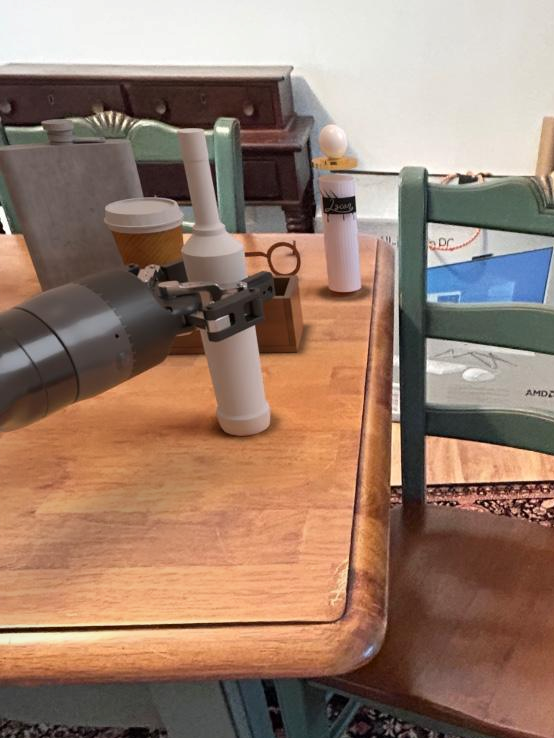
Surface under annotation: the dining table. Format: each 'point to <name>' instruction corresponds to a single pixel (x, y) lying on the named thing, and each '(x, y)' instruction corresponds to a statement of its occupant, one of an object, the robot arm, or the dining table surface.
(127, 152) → the hip flask
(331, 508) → the dining table surface
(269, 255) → the glasses
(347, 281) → the perfume bottle
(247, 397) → the bottle
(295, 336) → the rack
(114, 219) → the disposable coffee cup
